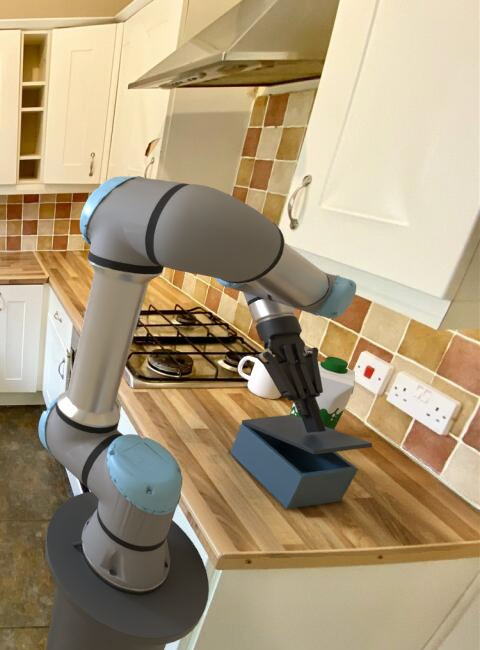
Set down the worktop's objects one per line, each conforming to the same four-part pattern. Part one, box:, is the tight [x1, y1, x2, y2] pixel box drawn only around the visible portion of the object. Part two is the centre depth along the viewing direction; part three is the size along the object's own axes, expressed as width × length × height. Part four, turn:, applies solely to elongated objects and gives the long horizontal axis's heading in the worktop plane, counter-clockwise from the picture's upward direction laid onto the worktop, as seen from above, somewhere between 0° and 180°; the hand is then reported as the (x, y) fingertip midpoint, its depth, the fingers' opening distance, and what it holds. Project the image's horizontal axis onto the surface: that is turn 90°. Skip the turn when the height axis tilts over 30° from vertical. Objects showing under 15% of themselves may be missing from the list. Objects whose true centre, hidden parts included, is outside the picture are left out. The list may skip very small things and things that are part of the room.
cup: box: [237, 355, 282, 400], centre depth 117 cm, size 8×12×10 cm
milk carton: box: [289, 356, 356, 430], centre depth 98 cm, size 9×9×20 cm
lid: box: [241, 414, 373, 454], centre depth 85 cm, size 17×13×1 cm
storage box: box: [230, 422, 359, 510], centre depth 88 cm, size 16×13×9 cm
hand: (316, 431), depth 81 cm, fingers closed
